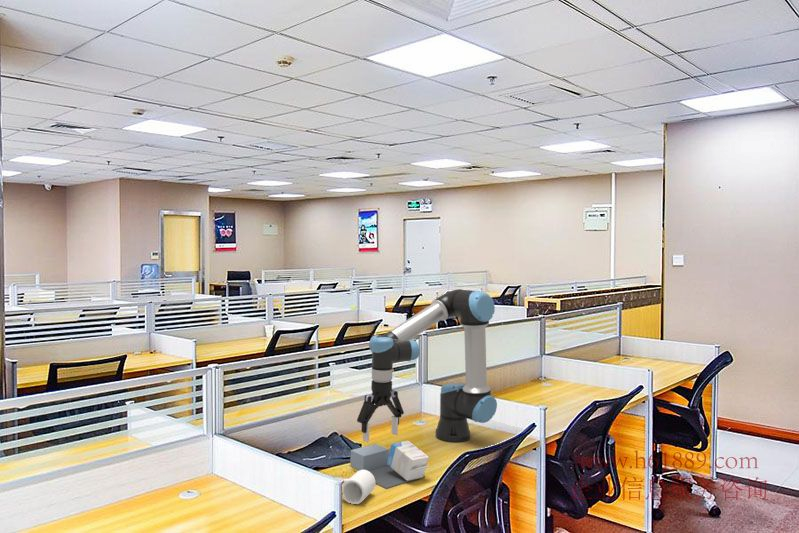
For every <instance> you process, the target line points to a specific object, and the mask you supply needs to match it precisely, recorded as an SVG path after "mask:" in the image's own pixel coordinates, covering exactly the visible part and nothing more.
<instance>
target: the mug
mask: <svg viewBox="0 0 799 533" xmlns="http://www.w3.org/2000/svg"><path fill="white" fill-rule="evenodd" d="M343 479H344V483H342V484H343V485H342V486H343V495H342V498H343V499H344V500H345V501H346V502H347V503H348V504H350V503H351V504H350V505H353V504H357V505H359V504H361V503H362V502H363V501H364V500H365V499H366V498H367V497H368V496H369V495H370V494H371V493H372V492H373V491H374V490H375V487H376V485H377V484H376V482H375V478H374V476H373V475H372V473H371V472H369V471H367V470H357V471H356V472H355V473H354V474H353V475H352V476H350V477H349V478H343Z"/></svg>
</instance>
